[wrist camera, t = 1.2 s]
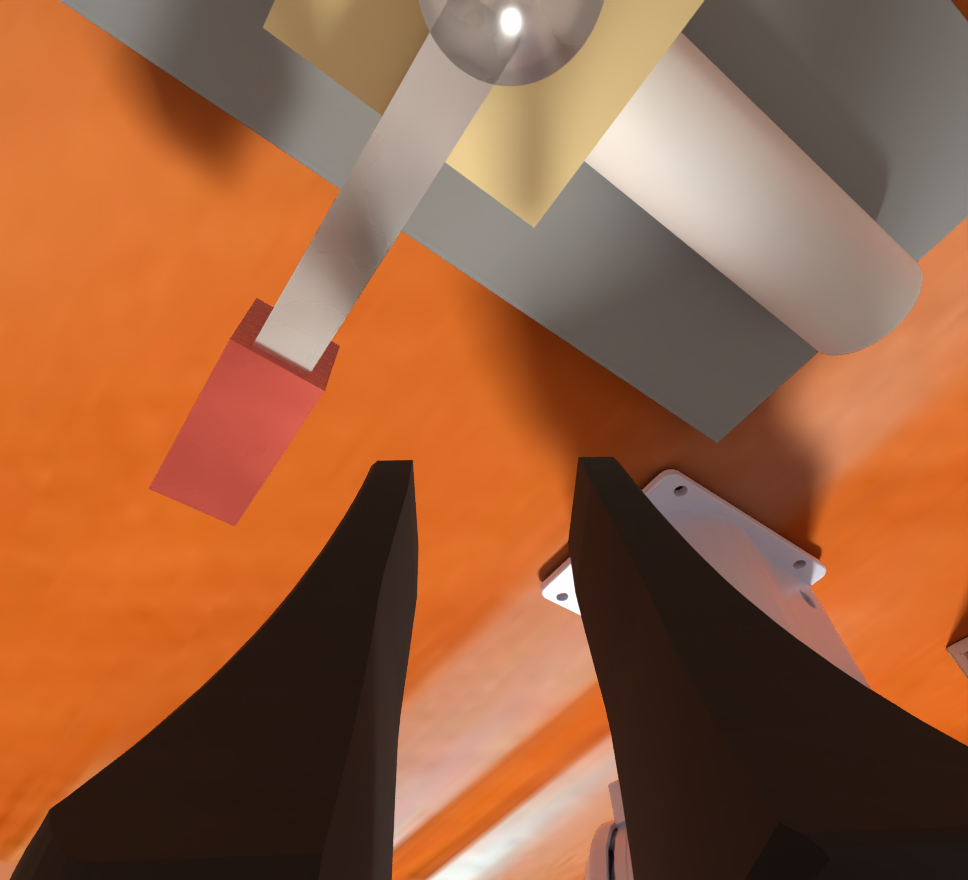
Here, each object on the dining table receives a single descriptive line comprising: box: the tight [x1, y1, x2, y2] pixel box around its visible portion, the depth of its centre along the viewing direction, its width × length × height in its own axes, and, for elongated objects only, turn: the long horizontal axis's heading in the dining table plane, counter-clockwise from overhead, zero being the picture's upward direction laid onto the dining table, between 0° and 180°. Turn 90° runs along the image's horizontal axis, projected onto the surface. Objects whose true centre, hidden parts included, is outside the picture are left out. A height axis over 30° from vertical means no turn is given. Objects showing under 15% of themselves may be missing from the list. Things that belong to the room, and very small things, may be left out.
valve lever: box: [149, 0, 604, 526], centre depth 12 cm, size 3×13×2 cm, turn 144°
